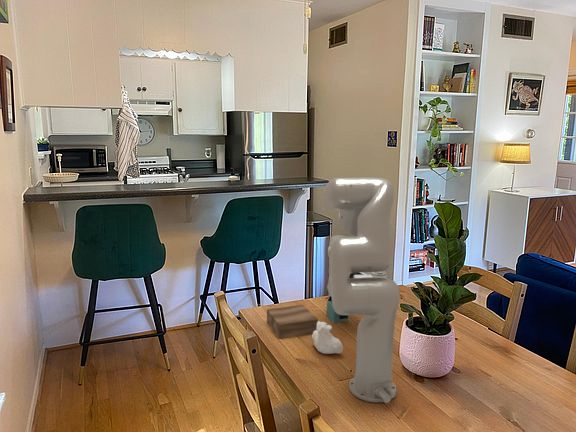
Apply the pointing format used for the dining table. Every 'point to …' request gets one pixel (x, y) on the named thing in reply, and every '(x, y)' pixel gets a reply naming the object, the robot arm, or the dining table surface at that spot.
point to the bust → (326, 339)
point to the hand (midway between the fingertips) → (337, 313)
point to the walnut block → (291, 321)
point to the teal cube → (333, 313)
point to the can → (379, 274)
